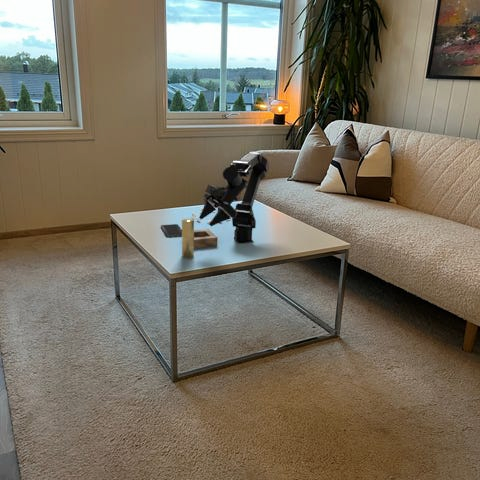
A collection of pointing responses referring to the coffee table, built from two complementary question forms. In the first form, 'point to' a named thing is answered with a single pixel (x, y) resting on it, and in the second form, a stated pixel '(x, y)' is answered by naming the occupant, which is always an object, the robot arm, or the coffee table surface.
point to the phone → (172, 230)
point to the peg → (187, 238)
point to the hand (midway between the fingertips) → (205, 221)
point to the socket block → (204, 238)
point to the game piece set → (200, 219)
